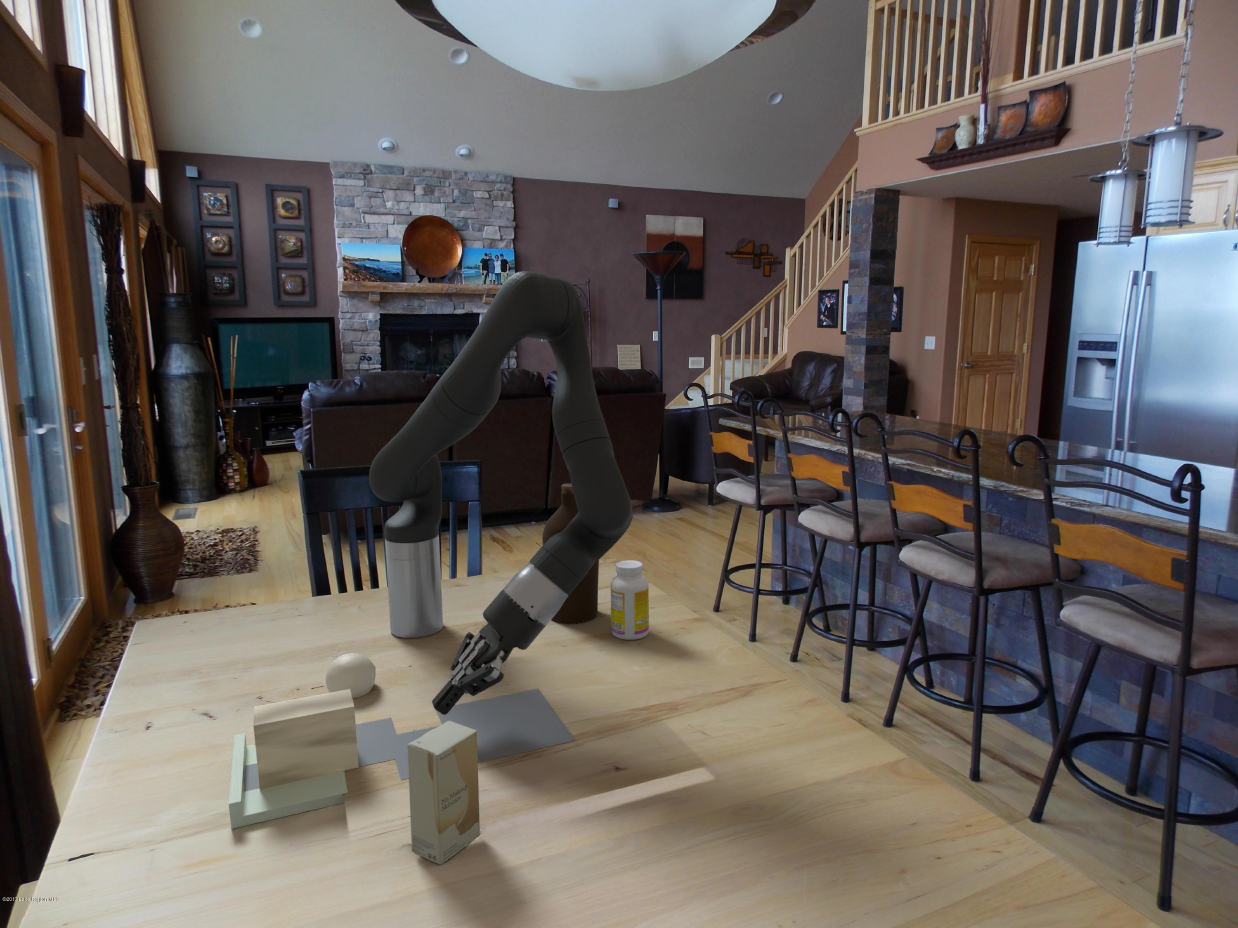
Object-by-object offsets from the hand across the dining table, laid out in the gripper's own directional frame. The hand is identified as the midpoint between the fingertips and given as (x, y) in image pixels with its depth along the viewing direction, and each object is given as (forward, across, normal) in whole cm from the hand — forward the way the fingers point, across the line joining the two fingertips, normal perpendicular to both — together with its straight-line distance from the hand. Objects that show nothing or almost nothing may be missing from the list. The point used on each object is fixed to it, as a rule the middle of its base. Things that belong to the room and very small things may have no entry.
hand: (437, 709), depth 102 cm
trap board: (+6, 0, +1) cm, 6 cm away
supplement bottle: (-23, -24, +30) cm, 45 cm away
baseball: (+10, -19, -3) cm, 22 cm away
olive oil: (-19, -37, +26) cm, 49 cm away
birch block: (+14, +1, -8) cm, 16 cm away
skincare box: (+6, +20, +2) cm, 21 cm away
